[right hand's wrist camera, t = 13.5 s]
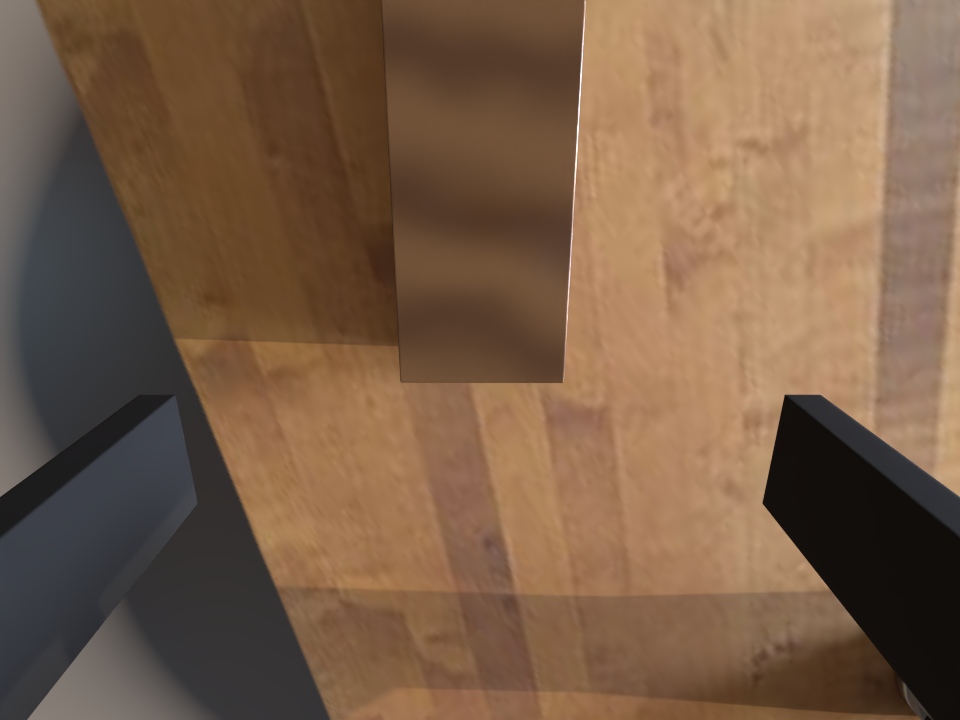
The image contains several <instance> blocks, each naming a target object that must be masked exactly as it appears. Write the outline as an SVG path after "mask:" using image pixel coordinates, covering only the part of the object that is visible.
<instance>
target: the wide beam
mask: <svg viewBox="0 0 960 720" xmlns="http://www.w3.org/2000/svg"><path fill="white" fill-rule="evenodd" d="M585 7H586V0H381V14H382V33H383V53H384V72H385V91H386V111H387V130H388V149H389V169H390V188H391V208H392V227H393V246H394V266H395V285H396V304H397V324H398V343H399V363H400V381H401V382H402V383H563V382H564V370H565V352H566V335H567V318H568V301H569V283H570V266H571V249H572V231H573V214H574V197H575V180H576V162H577V145H578V128H579V110H580V93H581V76H582V59H583V41H584V24H585Z"/></svg>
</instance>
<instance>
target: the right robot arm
mask: <svg viewBox="0 0 960 720" xmlns="http://www.w3.org/2000/svg"><path fill="white" fill-rule="evenodd" d="M196 505H197V499H196V494H195V489H194V484H193V479H192V474H191V470H190V465H189V460H188V455H187V450H186V445H185V440H184V435H183V431H182V426H181V421H180V416H179V411H178V406H177V402H176V397H175V395H139V396H137V397H136V398H135V399H133V400H132V401H131V402H129V403H128V404H126V405H125V406H124V407H122V408H121V409H120V410H118V411H117V412H116V413H114V414H113V415H111V416H110V417H109V418H107V419H106V420H105V421H103V422H102V423H101V424H99V425H98V426H96V427H95V428H94V429H92V430H91V431H90V432H88V433H87V434H86V435H84V436H83V437H81V438H80V439H79V440H77V441H76V442H75V443H73V444H72V445H71V446H69V447H68V448H66V449H65V450H64V451H62V452H61V453H60V454H58V455H57V456H56V457H54V458H53V459H52V460H50V461H49V462H47V463H46V464H45V465H43V466H42V467H41V468H39V469H38V470H37V471H35V472H34V473H32V474H31V475H30V476H28V477H27V478H26V479H24V480H23V481H22V482H20V483H19V484H17V485H16V486H15V487H13V488H12V489H11V490H9V491H8V492H7V493H5V494H4V495H2V496H1V497H0V720H27V719H28V718H29V716H30V715H31V714H32V713H33V711H34V710H35V709H36V708H37V706H38V705H39V704H40V702H41V701H42V700H43V699H44V697H45V696H46V695H47V694H48V692H49V691H50V690H51V689H52V687H53V686H54V685H55V683H56V682H57V681H58V680H59V678H60V677H61V676H62V675H63V673H64V672H65V671H66V669H67V668H68V667H69V666H70V664H71V663H72V662H73V661H74V659H75V658H76V657H77V655H78V654H79V653H80V652H81V650H82V649H83V648H84V647H85V645H86V644H87V643H88V642H89V640H90V639H91V638H92V637H93V635H94V634H95V633H96V631H97V630H98V629H99V628H100V626H101V625H102V624H103V623H104V621H105V620H106V619H107V617H108V616H109V615H110V614H111V612H112V611H113V610H114V609H115V607H116V606H117V605H118V604H119V602H120V601H121V600H122V598H123V597H124V596H125V595H126V593H127V592H128V591H129V590H130V588H131V587H132V586H133V584H134V583H135V582H136V581H137V579H138V578H139V577H140V576H141V574H142V573H143V572H144V571H145V569H146V568H147V567H148V565H149V564H150V563H151V562H152V560H153V559H154V558H155V557H156V555H157V554H158V553H159V552H160V550H161V549H162V548H163V546H164V545H165V544H166V543H167V541H168V540H169V539H170V538H171V536H172V535H173V534H174V533H175V531H176V530H177V529H178V527H179V526H180V525H181V524H182V522H183V521H184V520H185V519H186V517H187V516H188V515H189V513H190V512H191V511H192V510H193V508H194V507H195V506H196ZM763 505H764V506H765V507H766V508H767V510H768V511H769V512H770V513H771V515H772V516H773V517H774V519H775V520H776V521H777V522H778V524H779V525H780V526H781V527H782V529H783V530H784V531H785V533H786V534H787V535H788V536H789V538H790V539H791V540H792V541H793V543H794V544H795V545H796V546H797V548H798V549H799V550H800V552H801V553H802V554H803V555H804V557H805V558H806V559H807V560H808V562H809V563H810V564H811V565H812V567H813V568H814V569H815V571H816V572H817V573H818V574H819V576H820V577H821V578H822V579H823V581H824V582H825V583H826V585H827V586H828V587H829V588H830V590H831V591H832V592H833V593H834V595H835V596H836V597H837V598H838V600H839V601H840V602H841V604H842V605H843V606H844V607H845V609H846V610H847V611H848V612H849V614H850V615H851V616H852V617H853V619H854V620H855V621H856V623H857V624H858V625H859V626H860V628H861V629H862V630H863V631H864V633H865V634H866V635H867V637H868V638H869V639H870V640H871V642H872V643H873V644H874V645H875V647H876V648H877V649H878V650H879V652H880V653H881V654H882V656H883V657H884V658H885V659H886V661H887V662H888V663H889V664H890V666H891V667H892V668H893V670H894V671H895V672H896V681H897V686H898V689H899V691H900V694H901V695H902V697H903V698H904V700H905V701H906V702H907V703H908V705H909V706H910V707H911V709H912V710H913V711H914V712H915V714H916V715H917V716H918V717H919V718H920V719H921V720H960V497H959V496H958V495H956V494H955V493H953V492H952V491H951V490H949V489H948V488H947V487H945V486H944V485H943V484H941V483H940V482H938V481H937V480H936V479H934V478H933V477H932V476H930V475H929V474H928V473H926V472H925V471H924V470H922V469H921V468H919V467H918V466H917V465H915V464H914V463H913V462H911V461H910V460H909V459H907V458H906V457H904V456H903V455H902V454H900V453H899V452H898V451H896V450H895V449H894V448H892V447H891V446H889V445H888V444H887V443H885V442H884V441H883V440H881V439H880V438H879V437H877V436H876V435H874V434H873V433H872V432H870V431H869V430H868V429H866V428H865V427H864V426H862V425H861V424H859V423H858V422H857V421H855V420H854V419H853V418H851V417H850V416H849V415H847V414H846V413H844V412H843V411H842V410H840V409H839V408H838V407H836V406H835V405H834V404H832V403H831V402H829V401H828V400H827V399H825V398H824V397H823V396H821V395H785V397H784V401H783V406H782V411H781V416H780V421H779V426H778V431H777V435H776V440H775V445H774V450H773V455H772V460H771V465H770V470H769V474H768V479H767V484H766V489H765V494H764V499H763Z"/></svg>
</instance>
